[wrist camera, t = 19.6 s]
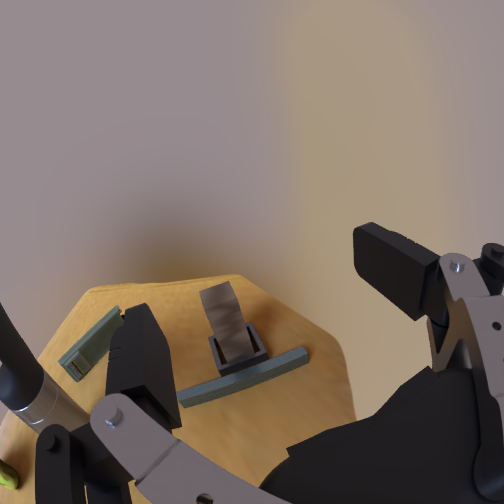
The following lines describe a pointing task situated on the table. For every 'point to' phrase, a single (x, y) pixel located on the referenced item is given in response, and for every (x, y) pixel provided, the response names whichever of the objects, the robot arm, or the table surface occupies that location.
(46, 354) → the table surface
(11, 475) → the bottle
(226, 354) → the block
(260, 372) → the keeper
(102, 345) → the handheld radio
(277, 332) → the table surface
